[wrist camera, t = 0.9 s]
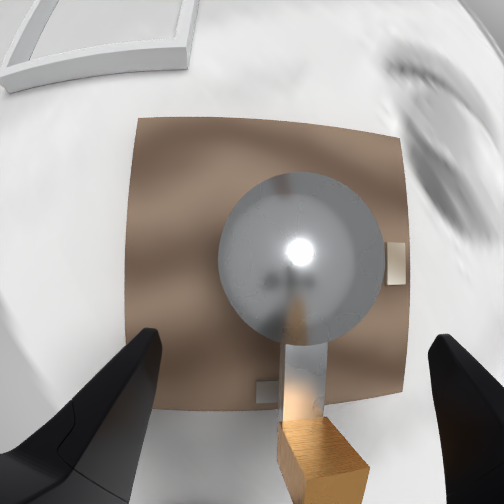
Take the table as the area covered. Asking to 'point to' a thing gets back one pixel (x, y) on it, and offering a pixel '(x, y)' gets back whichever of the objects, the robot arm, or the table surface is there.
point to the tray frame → (91, 52)
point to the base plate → (207, 246)
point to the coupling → (305, 311)
